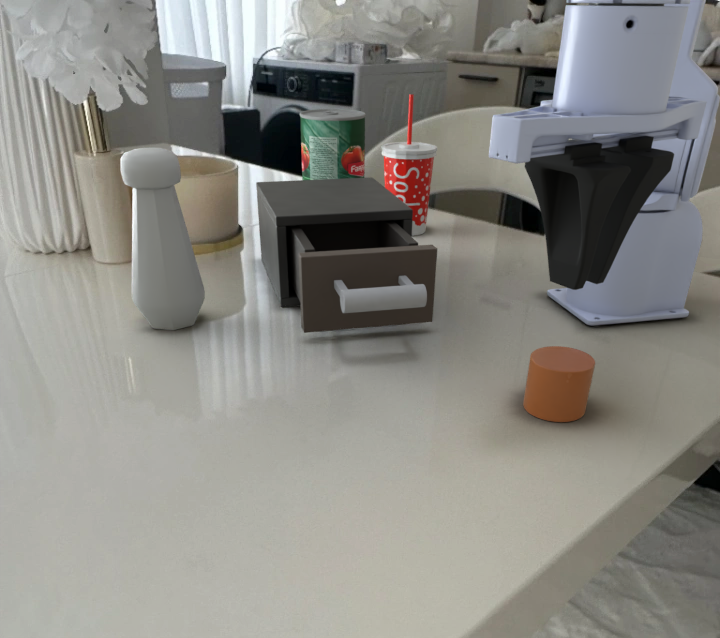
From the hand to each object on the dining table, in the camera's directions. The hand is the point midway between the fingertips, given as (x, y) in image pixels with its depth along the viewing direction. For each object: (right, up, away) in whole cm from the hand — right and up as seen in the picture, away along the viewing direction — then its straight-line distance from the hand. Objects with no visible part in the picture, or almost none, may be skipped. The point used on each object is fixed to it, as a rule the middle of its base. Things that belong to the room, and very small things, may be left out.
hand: (576, 281), depth 42 cm
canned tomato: (-16, +23, +49) cm, 57 cm away
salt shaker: (-28, +1, +17) cm, 33 cm away
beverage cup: (-7, +17, +41) cm, 45 cm away
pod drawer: (-13, +2, +17) cm, 21 cm away
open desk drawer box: (-16, +8, +26) cm, 32 cm away
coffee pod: (0, -7, +5) cm, 8 cm away
